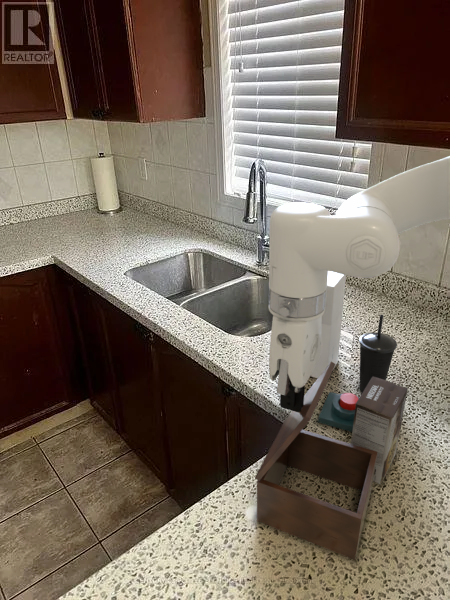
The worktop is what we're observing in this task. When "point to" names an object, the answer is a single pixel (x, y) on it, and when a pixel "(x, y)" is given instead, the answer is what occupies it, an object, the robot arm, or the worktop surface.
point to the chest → (310, 511)
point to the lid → (296, 421)
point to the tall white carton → (331, 323)
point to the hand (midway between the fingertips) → (291, 406)
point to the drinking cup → (375, 355)
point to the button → (348, 401)
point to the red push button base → (336, 413)
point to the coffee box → (379, 422)
